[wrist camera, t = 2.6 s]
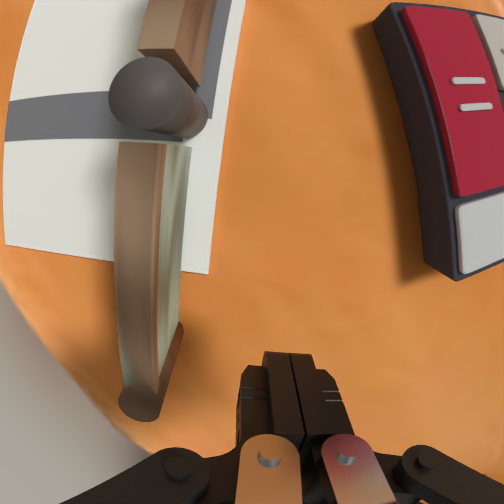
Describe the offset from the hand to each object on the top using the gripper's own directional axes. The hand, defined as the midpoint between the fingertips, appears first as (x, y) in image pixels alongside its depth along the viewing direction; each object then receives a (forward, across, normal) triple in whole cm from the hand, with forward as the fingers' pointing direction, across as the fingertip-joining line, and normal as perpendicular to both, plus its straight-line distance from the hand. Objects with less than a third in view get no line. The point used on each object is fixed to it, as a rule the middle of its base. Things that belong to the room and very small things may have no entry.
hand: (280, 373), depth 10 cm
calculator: (+8, -12, -11) cm, 18 cm away
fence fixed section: (+8, +5, -13) cm, 16 cm away
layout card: (+8, +10, -9) cm, 16 cm away
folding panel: (+7, +5, -1) cm, 9 cm away
